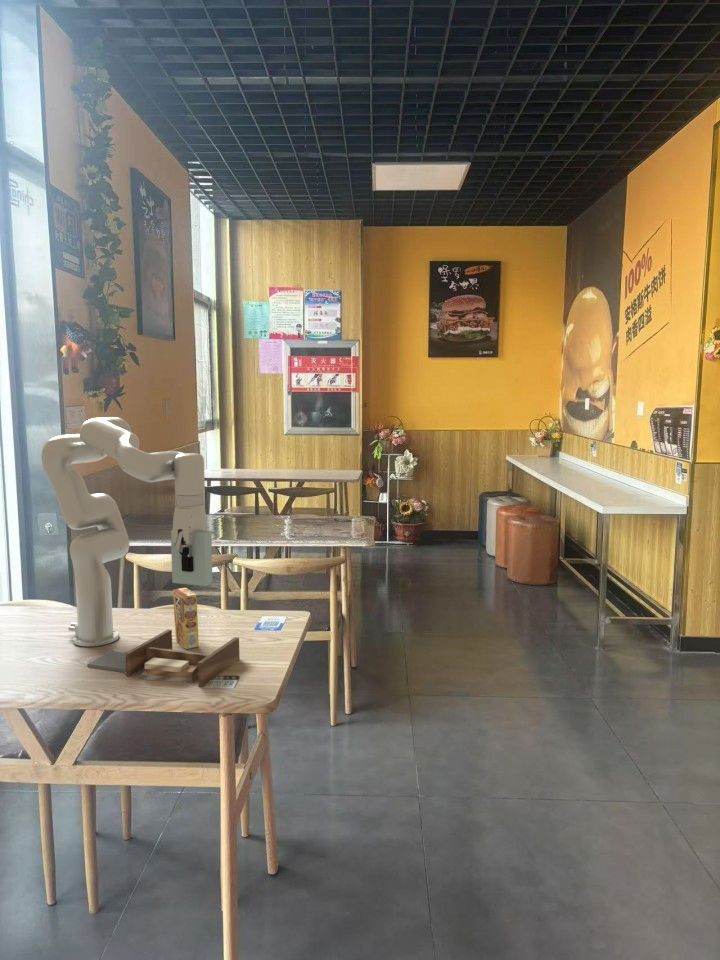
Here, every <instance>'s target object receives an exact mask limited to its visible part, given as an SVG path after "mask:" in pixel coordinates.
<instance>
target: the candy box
mask: <svg viewBox="0 0 720 960" xmlns="http://www.w3.org/2000/svg"><path fill="white" fill-rule="evenodd" d="M172 592H173V593H172V594H173V595H172V597H173V613H174V614H173V615H174V631H175V632H174V633H175V642H177V643H178V644H179V645H181V647H182V648H184V649H185V650H188V649H193V648H198V647H199V623H198V618H199V616H198V600H197V599H198V598H197V594H196V593H195V592H194V591H192V590H190V589H189V588H187V587H182V588H176V589H172Z"/></svg>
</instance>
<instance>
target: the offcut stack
mask: <svg viewBox="0 0 720 960" xmlns="http://www.w3.org/2000/svg"><path fill="white" fill-rule="evenodd" d="M139 679H141V680H152V681H162V682H163V681H165V682H177V683H188V684H190V683H191V684H192V683H194V682H195V681H196V680H198V665H189V661H183V660H173V659H163V658H152V659H150V660H149V661H148V662H146V663H145V668H144V671H142V672H141V673H140V674H139Z"/></svg>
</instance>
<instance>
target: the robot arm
mask: <svg viewBox="0 0 720 960" xmlns="http://www.w3.org/2000/svg"><path fill="white" fill-rule="evenodd" d="M139 448H140V439H139V437H138V436H137V434H136V433H134V432H132V430H131V426H130V424H129V423H128V422H127V421H126V420H124V419H123V418H121V417H118V416H109V417H93V418H90V419H88V420H85V421H84V422H83V423H82V424H81V426H80V427H79V431H78V433H75V434H73V433H72V434H71V433H70V434H61V435H56V436H54V437H51V438H50V439H48V440H47V441H46V442H44V445H43V447H42V449H41V465H42V467H43V470H44V472H45V475H46V477H47V478H48V480H49V482H50V484H51V486H52V487H53V491H54V494H55V497H56V499H57V502H58V505H59V508H60V511H61V513H62V517H63V519H64V522H65V524H66V526H67V527H68V528H70V529H71V530H76V531H78V530H84V529H85V530H86V529H90V528H94V527H96V529H97V530H94V531H87V532H84V533H82V534H80V535H77V536H76V537H75V538H73V540H72V541H71V543H70V545H69V546H70V547H69V555H70V559H71V563H72V568H73V574H74V582H75V597H76V599H75V600H76V615H77V617H76V618H77V622H76V621H75V622H73V621H72V622H71V623H70V625H69V626H68V630H67V631H69V632H74V636H73V637H72V643H73V644H74V645H76V646H79V647H99V646H105V645H108V644H111V643H114V642H115V641H117V640H118V639H119V638H120V633H119V631H118V630H115V629H114V621H113V619H114V618H113V617H114V616H113V600H112V580H111V575H110V573H109V572H108V570H107V568H106V567H105V564H106V563H107V562H111V561H115V560H119V559H121V558H123V557H124V556H126V555H127V554H128V552H129V549H130V539H129V534H128V532H127V528H126V526H125V524H124V523H125V522H124V520H123V517H122V515H121V512H120V509H119V507H118V504H117V503H116V501H115V500H114V499H113V498H112V497H111V495H109V494H107V493H103V492H101V493H99V492H97V493H90V492H89V490H88V488H87V485H86V482H85V480H84V478H83V476H82V475H81V474H80V473H79V471H77V470H76V469H75V468H74V467H73V466H72V465H75V464H76V465H77V464H87V463H93V462H99V461H100V460H103V459H105V458H106V457H111V458H112V459H114V460H116V461H117V464H118V466H119V468H121V470H122V471H123V472H125V473H126V474H127V475H130V476H131V477H133V478H136V479H138V480H139V481H143V482H145V483H157V482H162V481H169V480H174V490H175V491H174V494H175V496H174V498H175V500H174V501H175V503H174V504H175V507H174V511H173V516H172V517H173V520H172V530H173V544H174V545H176V546H175V549H176V550H177V551H179V553H180V556H181V563H182V571H186V572H193V557H191V555H192V545H193V544H194V543H195V533H196V532H199V531H201V530H207V531H208V526H207V524H208V523H207V512H206V493H205V492H206V488H205V487H206V486H205V482H206V481H205V459H204V458H205V457H204V456H203V454H201V453H197V452H196V453H195V452H182V451H178V450H166V451H157V452H146V451H143V450H141V449H139ZM184 542H186V543H185V544H184ZM185 547H188V551H187V549H186V548H185ZM104 563H105V564H104Z"/></svg>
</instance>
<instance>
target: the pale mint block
mask: <svg viewBox="0 0 720 960" xmlns="http://www.w3.org/2000/svg"><path fill="white" fill-rule="evenodd" d="M212 539H213V538H212V530H208V529H207V530H201V531H199V532H196V533H195V543H194V544H193V545H192V555H191V557H193V572H186V571H182V563H181V556H180V553H179V551H177V550H176V549H175V546H176V545H174V544H173V529H172V530H170V546H171V547H170V548H171V550H170V551H171V577H172V578H171V581H172V582H171V583H173V584H181V585H189V586H191V585H192V586H201V587H207V586H209V585H211V584H213V550H212V549H213V544H212V543H213V542H212ZM185 543H186V542H184V544H185ZM185 548H186V549H187V551H188V547H185Z"/></svg>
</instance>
